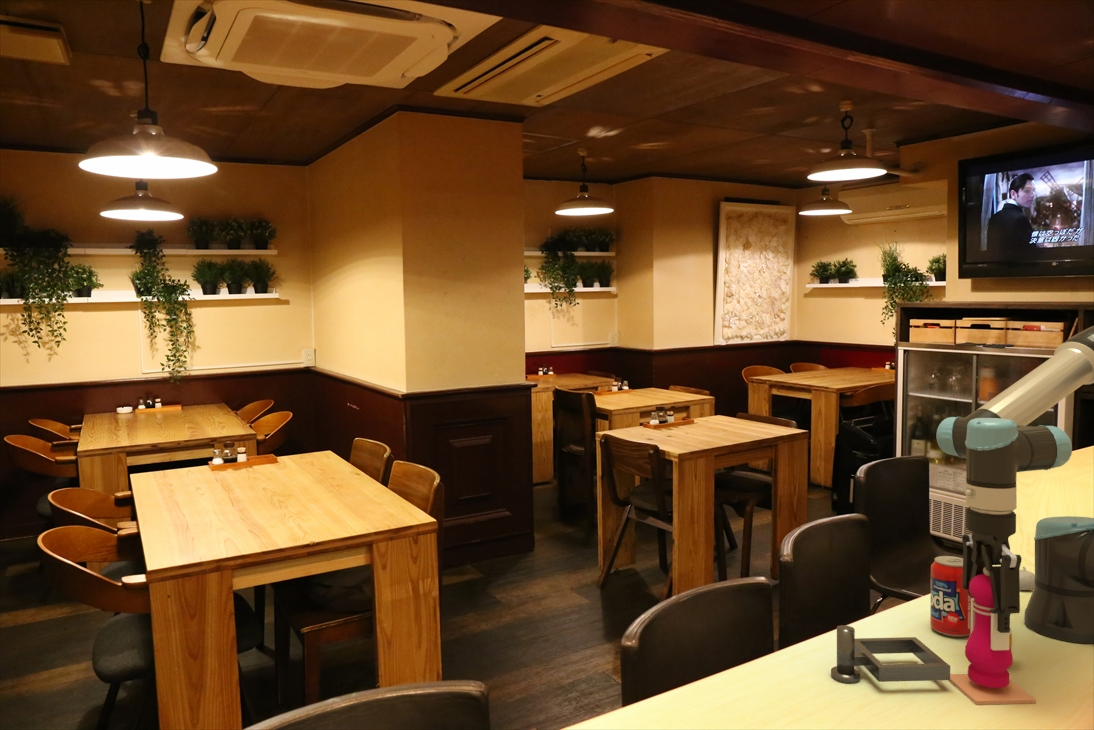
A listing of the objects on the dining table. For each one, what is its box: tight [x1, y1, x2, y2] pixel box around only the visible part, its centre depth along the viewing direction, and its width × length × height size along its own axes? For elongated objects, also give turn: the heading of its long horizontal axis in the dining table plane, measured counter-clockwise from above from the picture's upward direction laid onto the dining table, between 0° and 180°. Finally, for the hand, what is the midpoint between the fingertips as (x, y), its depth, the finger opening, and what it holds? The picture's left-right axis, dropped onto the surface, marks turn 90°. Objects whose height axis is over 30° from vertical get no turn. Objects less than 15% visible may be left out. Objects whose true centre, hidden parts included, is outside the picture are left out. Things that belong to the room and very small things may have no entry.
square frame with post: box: [830, 624, 951, 685], centre depth 140 cm, size 18×12×9 cm
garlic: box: [1019, 566, 1035, 591], centre depth 184 cm, size 6×5×5 cm
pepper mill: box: [964, 567, 1014, 688], centre depth 134 cm, size 7×7×20 cm
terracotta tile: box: [947, 673, 1037, 706], centre depth 134 cm, size 10×10×1 cm
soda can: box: [929, 555, 971, 638], centre depth 159 cm, size 8×8×15 cm
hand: (989, 641), depth 134 cm, fingers closed on pepper mill, 5 cm apart
